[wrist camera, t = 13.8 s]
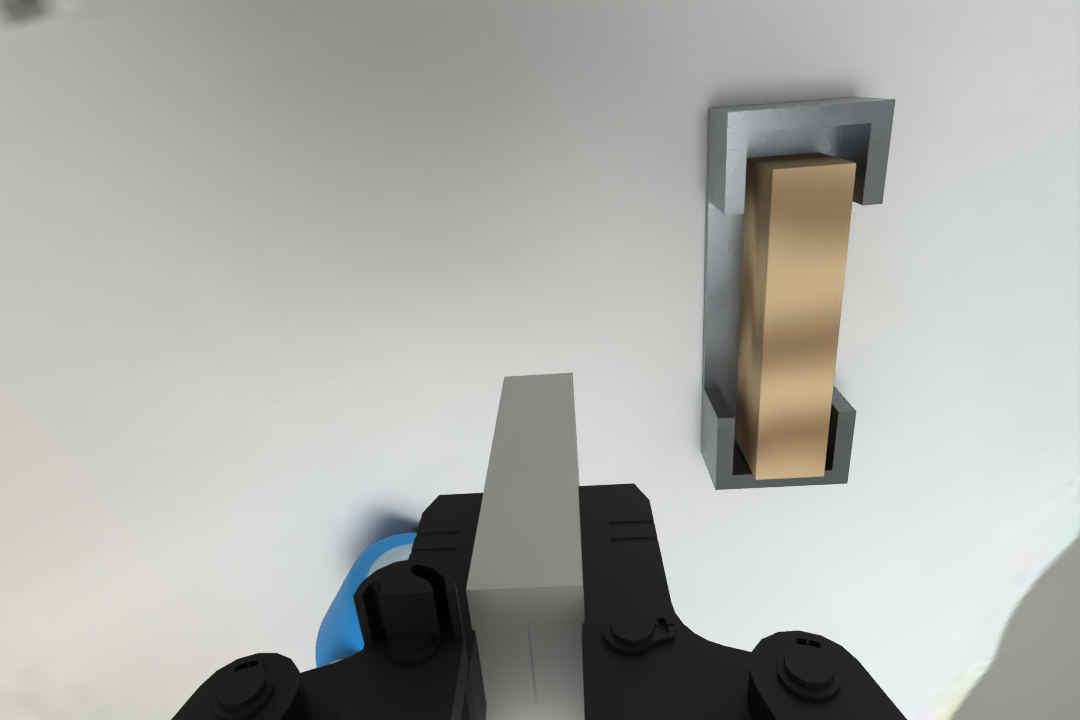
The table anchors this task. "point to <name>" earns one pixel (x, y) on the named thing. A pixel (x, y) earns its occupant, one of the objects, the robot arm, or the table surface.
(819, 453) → the long wooden block
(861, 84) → the table surface
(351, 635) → the alarm clock
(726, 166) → the gray cradle tray
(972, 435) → the table surface
